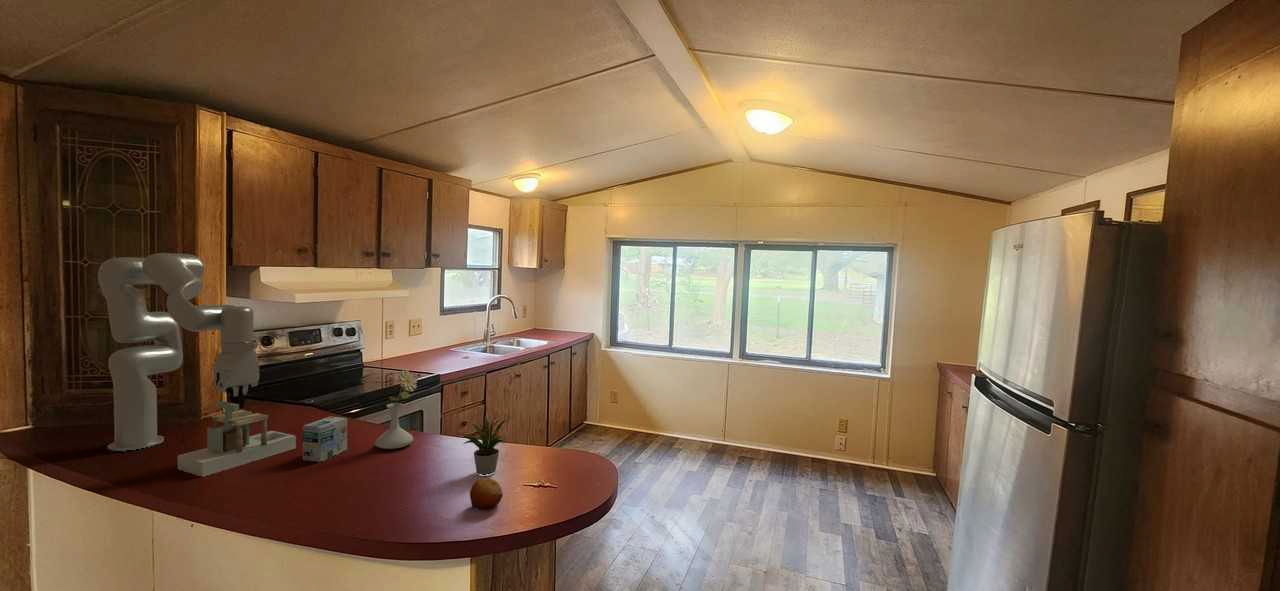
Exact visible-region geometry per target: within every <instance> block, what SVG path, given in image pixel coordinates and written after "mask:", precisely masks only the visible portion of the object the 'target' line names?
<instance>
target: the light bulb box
mask: <svg viewBox="0 0 1280 591" xmlns="http://www.w3.org/2000/svg"><path fill="white" fill-rule="evenodd" d="M345 450H347V451H348V418H347V417H339V416H333V415H332V416H331V415H330V416H327V417H324V418H322V419H319V420H316V421H312V422H310V423H307V424H304V425H302V460H303V461H307V460H308V461H309V462H315V461H316V463H322V462H324V461H327V460H329V459H331V458H333V457H332V456H334V455H336V456H338V455H340V454H339V453H341V452H343V451H345ZM343 453H344V452H343ZM337 454H338V455H337ZM341 454H342V453H341ZM330 457H331V458H330ZM334 457H335V456H334ZM328 458H329V459H328ZM326 459H327V460H326ZM308 461H307V462H308ZM321 461H322V462H321Z"/></svg>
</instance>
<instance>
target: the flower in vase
mask: <svg viewBox="0 0 1280 591" xmlns="http://www.w3.org/2000/svg"><path fill="white" fill-rule="evenodd" d="M398 382H399V385H400V386H401V387H400V388H401V389H399V390H400V391H399V394H398V396H397V397H394V396H391V395H390V396H389V400H390V401H395V402H394V403H389V404H386V407H387V409H388V411H389V414H390V425H389V428H388V429H387V430H386V431H384V433H382V434H381V435H380V436H378V437H377V439H376V440H375V443H374V445H375V446H376V447H377V448H379V449H384V450H391V449H393V450H394V449H399V448H403V447H406V446H408V445H410V444H412V443H413V441H414V436H413V435H412V434H411V433H410V432H408V431H406V430H405V429H403V428H401V427H400V424H399V418H400V417H399V416H400V412H401V409H402V408H403V406H404V404H403V403H400V402H398V401H399V398H400V397H401V398H402V399H403V400H406V399H408V398H410V396H411V394H410V393H413V392H414V391H415V390H416V389H417V387H418V386H417V383H418V381H417V380H416V378H415V375H414V374H413V373H411V372H410V371H409V370H407V369H406V370H404V369H402V370H401V371H400V373H399V375H398ZM402 390H403V391H402ZM409 392H410V393H409Z"/></svg>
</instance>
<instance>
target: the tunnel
mask: <svg viewBox="0 0 1280 591" xmlns="http://www.w3.org/2000/svg"><path fill="white" fill-rule="evenodd" d="M268 419H269V415H267V414H263V413H258V412H256V413H253V411H250V410H249V411H248V410H244V409H239V410H236V411H232V419H230V420H228V424H233V425H236V452H242V425H244V424H252V423H257V422H259V421H260V434H261V445H266V444H267V432H268V430H267V429H268V428H267V427H268V426H267V424H268V423H267V422H268ZM211 421H213V428H219V427H221V424H220V422H221V423H225V413H221V414H217V415H213V416H211Z"/></svg>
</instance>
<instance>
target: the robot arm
mask: <svg viewBox="0 0 1280 591" xmlns="http://www.w3.org/2000/svg"><path fill="white" fill-rule="evenodd" d="M205 270H206V269H205V265H204V262H203V261H202V260H201V259H200V258H199V257H198V256H196V255H194V254H190V253H172V252H171V253H170V252H159V253H153V254H150V255H148V256H147V257H135V256H134V257H130V256H128V257H127V256H126V257H122V256H121V257H114V258H109V259H107V260H105V261H103V263H101V264H100V266H99V269H98V272H97V280H98V284H99V287H100V289H101V292H102V293H103V296H104V298H105V300H106V305H107V313H108V318H109V325H110V326H109V328H110V332H111V335H112V338H113V340H115V342H117V343H120V344H130V343H131V344H133V343H143V342H144V343H145V342H152V341H153V343H154V344H152V345H151V344H150V345H139V346H131V347H125V348H121V349H118V350H115V351H114V352H113V353H112V354H111V355H110V356H109V358H108V361H107V362H108V364H107V365H108V370H109V372H110V375H111V380H112V386H113V417H114V419H113V420H114V422H113V423H114V442H111V443H109V444H108V445H107V446H106V447H107V448H106V449H109V450H113V451H123V452H127V451H126V450H133V451H137V450H136V449H139V450H142V449H141V448H144V449H147V448H146V447H148V448H151V446H152V447H155V446H157V444H158V445H160V444H161V443H163V442H164V440H165V437H164V436H163V435H158V403H157V402H158V401H157V400H158V396H157V395H158V394H157V388H156V387H157V386H156V385H155V383H153V381H152V380H150V379H149V377H148V376H152V375H156V374H162V373H169V372H173V371H175V370H178V369H180V367H181V366H182V364H183V360H184V353H183V345H182V339H181V332H180V330H181V329H180V327H182V328H183V329H185V330H187V331H190V332H196V333H197V332H207V331H215V330H216V331H218V330H220V350H221V352H220V353H219V352H218V353H217V356H216V359H215V362H214V368H213V369H214V371H213V385H214V386H215V387H216V388H215V391H216V392H218V393H226V394H228V396H230V403H234V404H239V410H241V409H245V404H246V395H247V394H248V392H249V390H251V389H252V388H254V387H257V386H258V385H259V380H260V365H259V364H260V363H259V359H258V354H257V352H256V351H257V350H255V347H258V346H259V343H258V341H255V339H254V330H255V329H254V328H255V326H254V309H253V308H252V307H249V306H237V305H232V304H208V305H207V304H206V305H194V304H193V303H191V301H189V300H192V299H193V298H195V297H197V296H198V295H199V294H200V293H201V292H202V291H203V287H204V284H203V280H201V279H200V278H202V277H203V275H204V273H205ZM134 285H158V286H159V287H160V288H161V289H162V291H164V292H165V293H166V294H168V295H167V299H166V308H167V311H148V309H147V301H146V298H145V296H144V295H143V293H142V292H140V291H139V290H138V289H137V288H136V287H135V286H134ZM154 445H155V446H154ZM109 450H108V451H109ZM113 451H112V452H113Z"/></svg>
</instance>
